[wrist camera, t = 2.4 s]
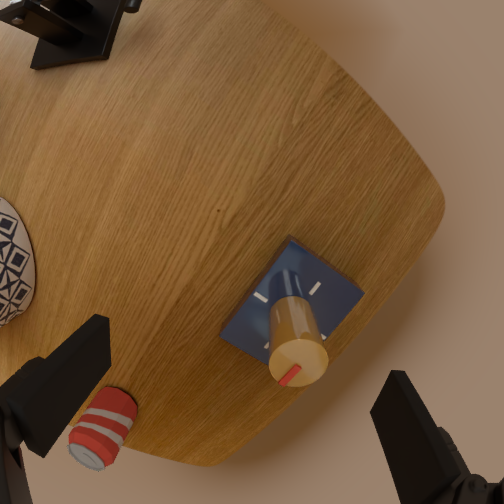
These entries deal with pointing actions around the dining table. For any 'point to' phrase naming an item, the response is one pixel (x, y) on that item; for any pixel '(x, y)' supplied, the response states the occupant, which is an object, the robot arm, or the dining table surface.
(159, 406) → the dining table surface
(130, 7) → the faucet lever
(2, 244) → the planter
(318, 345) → the valve knob
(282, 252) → the valve plate
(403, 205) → the dining table surface
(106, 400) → the beverage can
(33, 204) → the dining table surface
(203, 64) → the dining table surface
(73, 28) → the black angular piece
